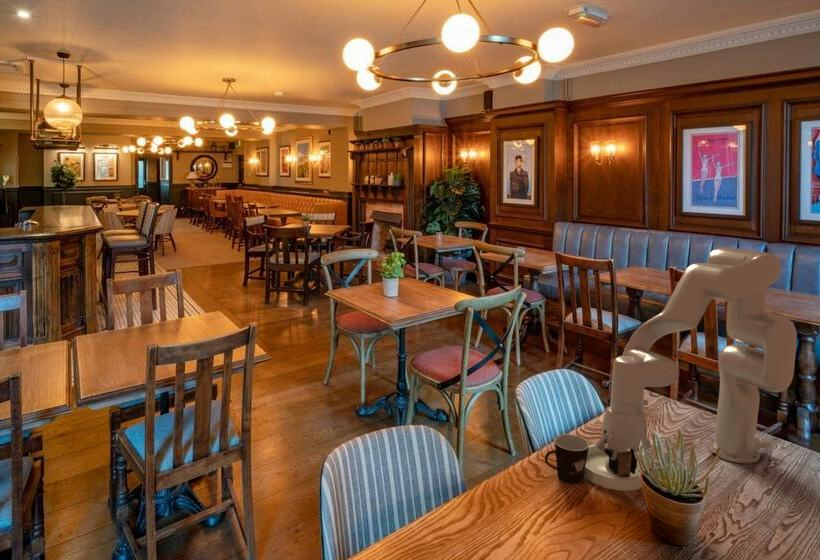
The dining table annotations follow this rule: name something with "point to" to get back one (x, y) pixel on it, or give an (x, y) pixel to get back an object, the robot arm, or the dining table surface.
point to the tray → (608, 472)
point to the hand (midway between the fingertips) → (622, 470)
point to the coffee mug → (570, 457)
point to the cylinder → (624, 463)
